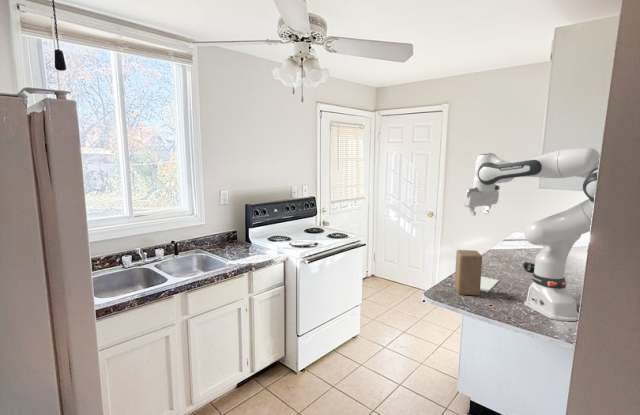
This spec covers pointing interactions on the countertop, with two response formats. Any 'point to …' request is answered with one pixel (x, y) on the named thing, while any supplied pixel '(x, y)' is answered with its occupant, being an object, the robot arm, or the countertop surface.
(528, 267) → the can opener
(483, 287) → the mat
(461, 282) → the wooden block
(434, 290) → the countertop surface
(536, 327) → the countertop surface
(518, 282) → the countertop surface
